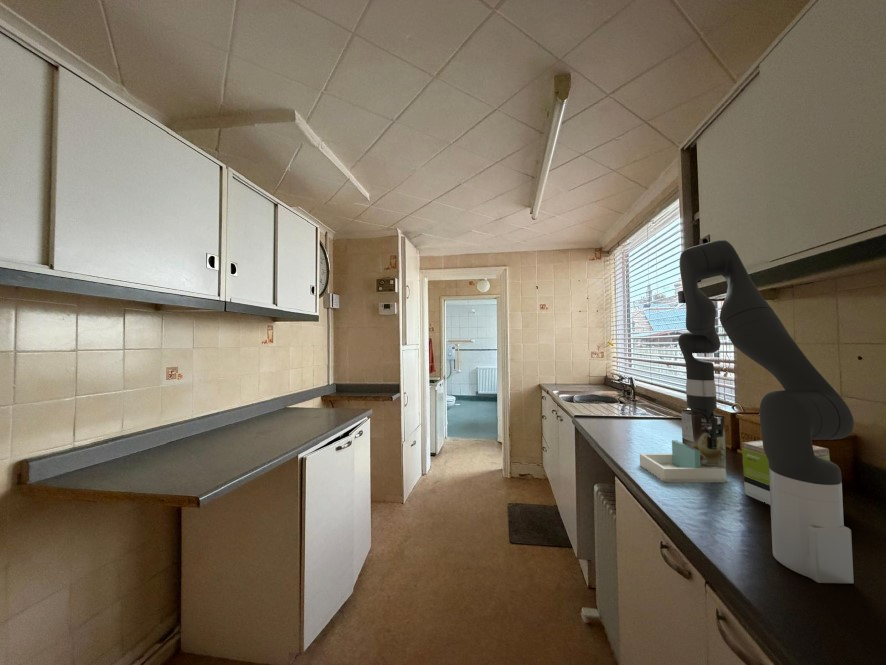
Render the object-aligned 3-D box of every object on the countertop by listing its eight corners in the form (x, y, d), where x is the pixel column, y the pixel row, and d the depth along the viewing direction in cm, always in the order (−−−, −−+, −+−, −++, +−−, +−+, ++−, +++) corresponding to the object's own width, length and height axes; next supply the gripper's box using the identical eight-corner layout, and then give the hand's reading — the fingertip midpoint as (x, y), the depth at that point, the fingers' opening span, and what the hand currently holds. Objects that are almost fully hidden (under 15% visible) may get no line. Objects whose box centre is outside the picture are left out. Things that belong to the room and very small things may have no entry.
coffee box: (695, 467, 99) (693, 415, 99) (682, 459, 105) (680, 411, 106) (727, 468, 98) (724, 415, 98) (712, 460, 104) (709, 411, 105)
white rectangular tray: (726, 482, 95) (725, 468, 95) (664, 482, 96) (664, 469, 96) (694, 465, 108) (693, 453, 108) (640, 465, 109) (639, 453, 109)
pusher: (700, 476, 97) (699, 450, 97) (695, 476, 97) (694, 450, 97) (677, 462, 107) (676, 440, 108) (672, 462, 107) (671, 440, 108)
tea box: (786, 489, 91) (784, 437, 91) (835, 507, 81) (832, 448, 81) (742, 494, 88) (740, 440, 89) (786, 513, 78) (784, 453, 79)
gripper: (732, 397, 95) (734, 453, 94) (696, 389, 109) (698, 438, 109) (706, 397, 95) (708, 453, 95) (673, 390, 110) (675, 438, 109)
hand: (703, 445), depth 102 cm, fingers closed on coffee box, 6 cm apart
